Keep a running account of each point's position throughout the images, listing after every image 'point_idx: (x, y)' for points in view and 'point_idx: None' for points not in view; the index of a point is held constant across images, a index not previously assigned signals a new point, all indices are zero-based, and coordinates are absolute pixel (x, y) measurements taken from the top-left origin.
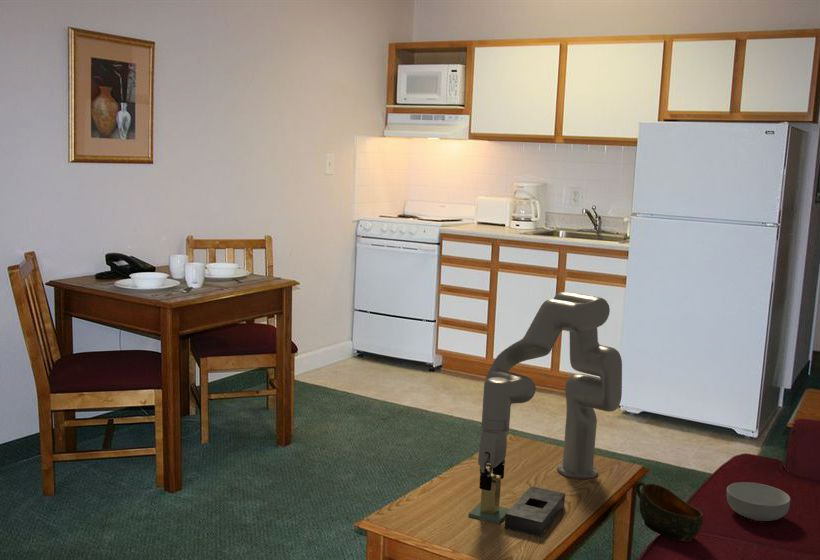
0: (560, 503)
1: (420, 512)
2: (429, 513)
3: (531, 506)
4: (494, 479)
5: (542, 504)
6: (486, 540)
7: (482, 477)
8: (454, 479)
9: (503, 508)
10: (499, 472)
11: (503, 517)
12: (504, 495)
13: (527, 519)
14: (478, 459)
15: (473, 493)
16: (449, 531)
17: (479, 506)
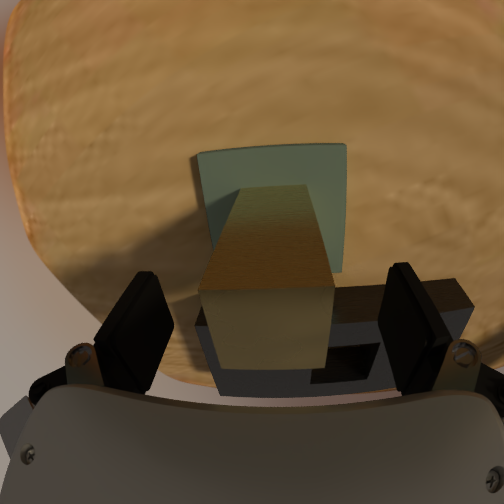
0: None
1: (117, 11)
2: (127, 33)
3: None
4: (230, 359)
5: (368, 359)
6: (108, 276)
7: (96, 347)
8: (478, 3)
9: (333, 250)
10: (392, 335)
11: None
12: (461, 199)
13: (211, 372)
14: (23, 430)
15: (428, 82)
16: (70, 171)
17: (295, 160)
